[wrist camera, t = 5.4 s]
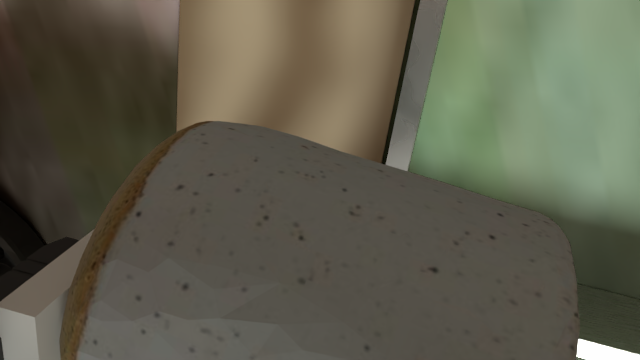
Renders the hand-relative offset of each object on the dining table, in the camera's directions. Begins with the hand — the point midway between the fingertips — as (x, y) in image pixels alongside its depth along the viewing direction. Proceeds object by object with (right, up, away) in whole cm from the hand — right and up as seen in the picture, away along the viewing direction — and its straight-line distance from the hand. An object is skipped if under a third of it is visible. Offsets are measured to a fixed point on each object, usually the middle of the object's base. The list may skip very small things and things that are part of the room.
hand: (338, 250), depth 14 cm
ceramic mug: (0, -1, +1) cm, 1 cm away
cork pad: (-2, +7, +14) cm, 16 cm away
